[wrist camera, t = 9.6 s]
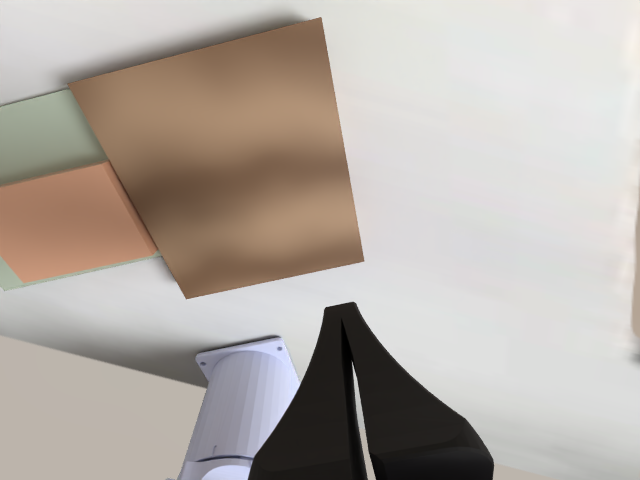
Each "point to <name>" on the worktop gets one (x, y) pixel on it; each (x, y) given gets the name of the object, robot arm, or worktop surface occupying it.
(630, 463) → the worktop surface
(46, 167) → the mat
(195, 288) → the block
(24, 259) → the tile
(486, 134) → the worktop surface
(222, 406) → the robot arm
